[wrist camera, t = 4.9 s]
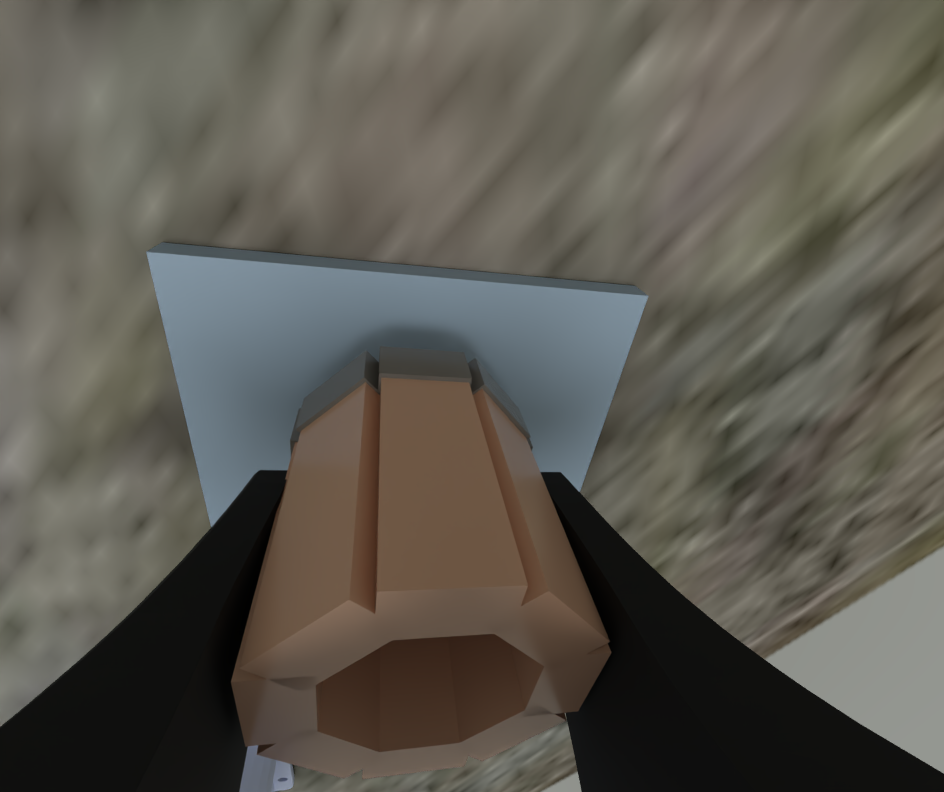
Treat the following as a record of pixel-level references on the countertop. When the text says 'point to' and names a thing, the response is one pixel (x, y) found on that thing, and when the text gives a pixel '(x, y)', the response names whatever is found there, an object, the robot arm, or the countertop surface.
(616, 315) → the pin board
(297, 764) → the sleeve
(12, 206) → the countertop surface
